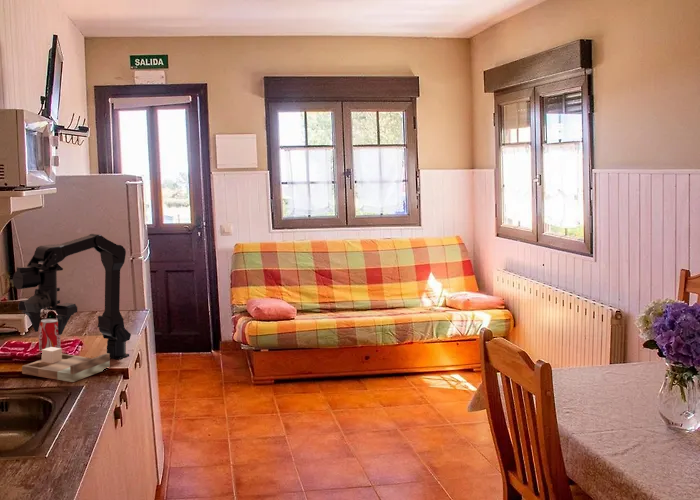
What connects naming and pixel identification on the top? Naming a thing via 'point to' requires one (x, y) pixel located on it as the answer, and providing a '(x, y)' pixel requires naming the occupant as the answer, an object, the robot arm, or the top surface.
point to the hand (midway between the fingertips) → (48, 333)
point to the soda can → (48, 334)
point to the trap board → (68, 367)
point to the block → (51, 355)
